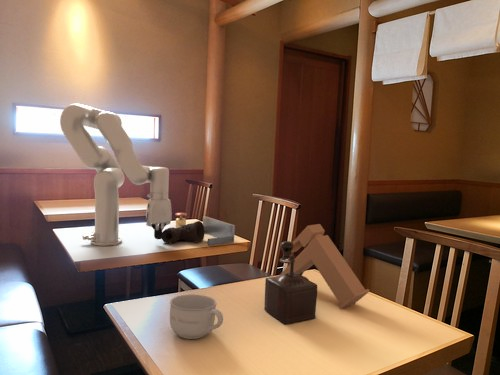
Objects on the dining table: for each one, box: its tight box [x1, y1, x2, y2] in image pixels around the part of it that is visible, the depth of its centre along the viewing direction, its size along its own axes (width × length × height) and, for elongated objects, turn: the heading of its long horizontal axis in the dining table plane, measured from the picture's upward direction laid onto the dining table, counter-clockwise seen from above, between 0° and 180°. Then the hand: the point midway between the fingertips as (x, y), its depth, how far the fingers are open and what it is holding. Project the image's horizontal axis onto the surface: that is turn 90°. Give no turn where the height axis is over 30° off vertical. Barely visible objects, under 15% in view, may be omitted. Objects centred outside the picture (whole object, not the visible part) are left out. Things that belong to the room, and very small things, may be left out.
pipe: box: [161, 220, 205, 244], centre depth 183 cm, size 10×15×15 cm
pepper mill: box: [263, 240, 318, 326], centre depth 111 cm, size 16×11×18 cm
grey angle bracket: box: [202, 215, 236, 247], centre depth 190 cm, size 14×24×8 cm, turn 40°
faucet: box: [278, 223, 371, 310], centre depth 126 cm, size 7×23×25 cm
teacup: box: [169, 293, 224, 340], centre depth 95 cm, size 14×11×8 cm
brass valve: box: [174, 212, 188, 228], centre depth 204 cm, size 6×6×9 cm
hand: (158, 238), depth 174 cm, fingers closed
